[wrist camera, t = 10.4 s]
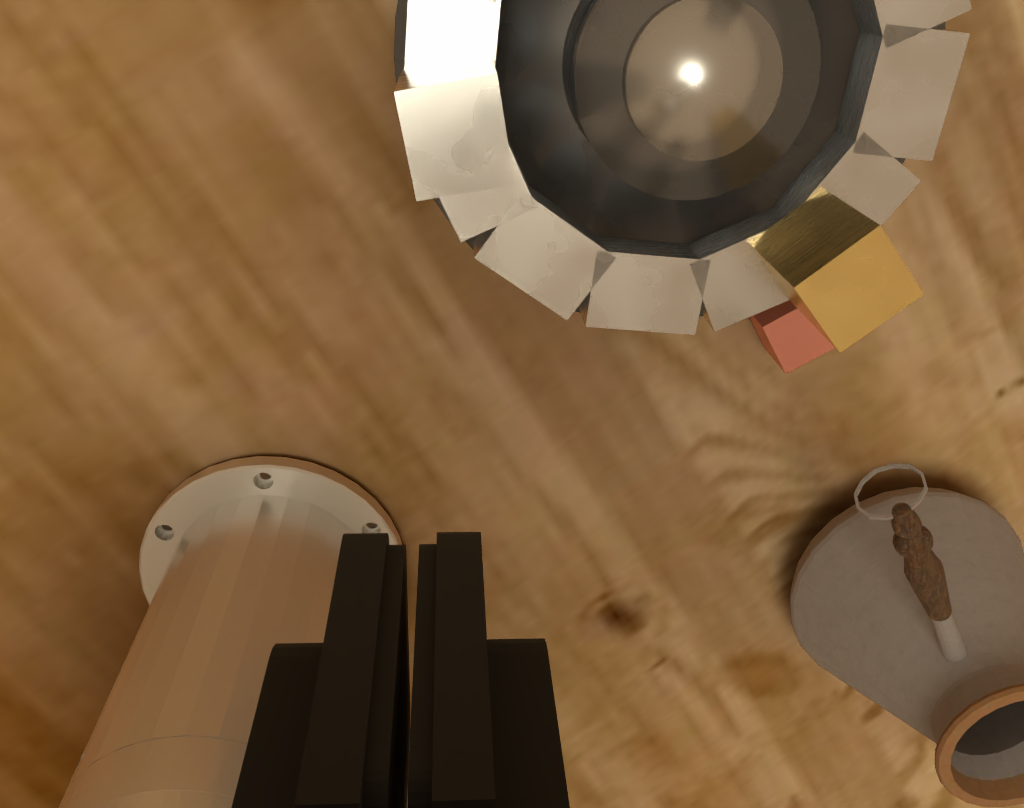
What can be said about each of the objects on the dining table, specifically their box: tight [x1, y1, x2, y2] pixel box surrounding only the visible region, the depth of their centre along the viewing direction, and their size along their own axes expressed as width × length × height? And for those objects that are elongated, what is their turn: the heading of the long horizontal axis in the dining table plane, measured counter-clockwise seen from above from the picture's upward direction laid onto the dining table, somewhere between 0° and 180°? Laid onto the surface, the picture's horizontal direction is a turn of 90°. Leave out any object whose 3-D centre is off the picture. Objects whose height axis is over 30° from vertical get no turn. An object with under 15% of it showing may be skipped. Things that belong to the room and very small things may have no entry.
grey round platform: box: [394, 0, 945, 316], centre depth 33 cm, size 20×20×8 cm
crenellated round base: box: [394, 0, 972, 353], centre depth 30 cm, size 19×19×7 cm
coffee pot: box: [790, 463, 1024, 807], centre depth 39 cm, size 21×12×15 cm, turn 32°
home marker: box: [750, 300, 835, 374], centre depth 40 cm, size 2×2×3 cm
